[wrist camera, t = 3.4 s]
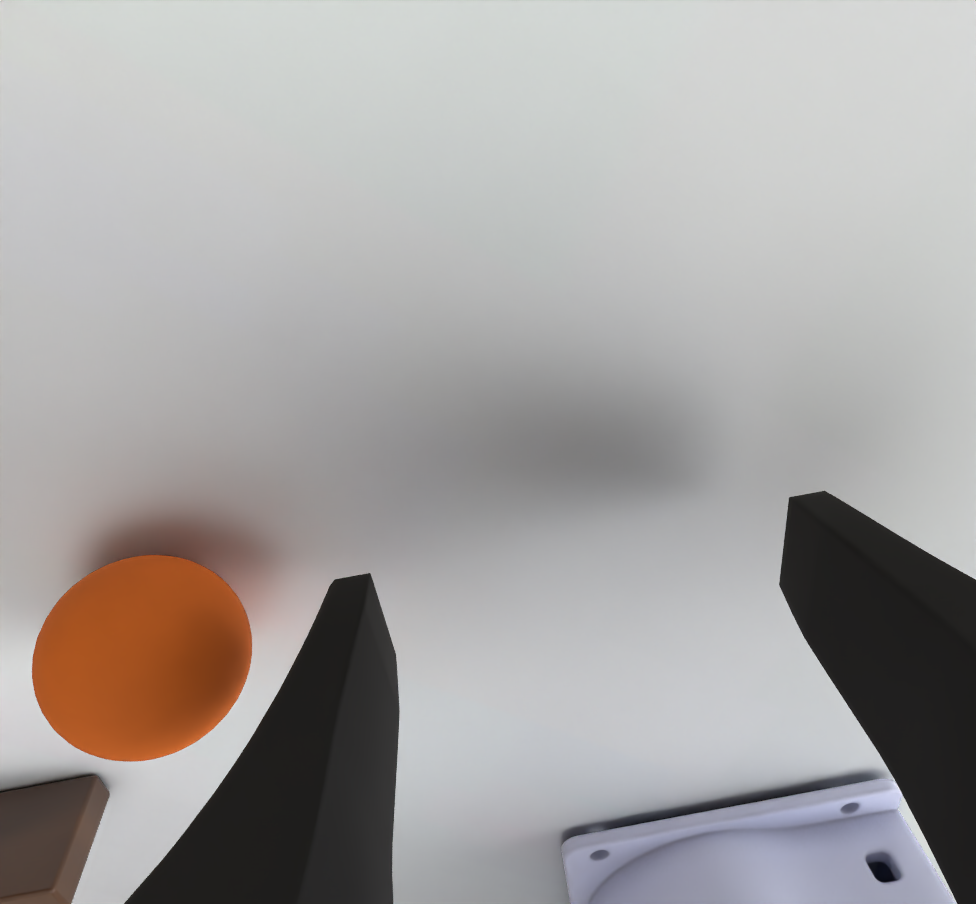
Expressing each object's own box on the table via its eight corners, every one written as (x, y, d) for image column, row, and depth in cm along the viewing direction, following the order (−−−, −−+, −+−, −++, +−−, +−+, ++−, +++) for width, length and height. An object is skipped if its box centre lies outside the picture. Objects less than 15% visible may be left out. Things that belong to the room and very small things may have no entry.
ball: (231, 500, 13) (184, 644, 10) (286, 630, 15) (261, 783, 12) (43, 534, 13) (-56, 688, 10) (123, 660, 15) (59, 821, 12)
